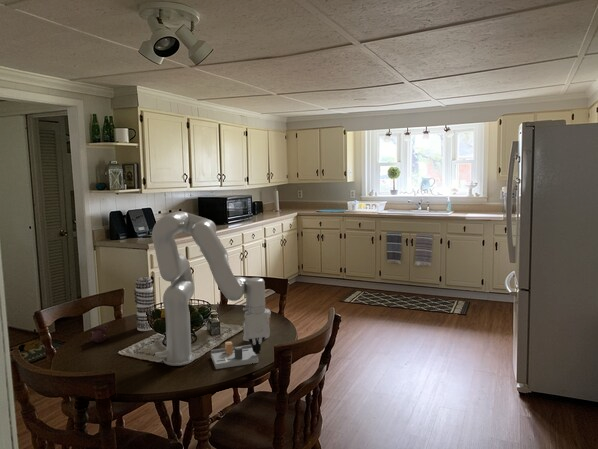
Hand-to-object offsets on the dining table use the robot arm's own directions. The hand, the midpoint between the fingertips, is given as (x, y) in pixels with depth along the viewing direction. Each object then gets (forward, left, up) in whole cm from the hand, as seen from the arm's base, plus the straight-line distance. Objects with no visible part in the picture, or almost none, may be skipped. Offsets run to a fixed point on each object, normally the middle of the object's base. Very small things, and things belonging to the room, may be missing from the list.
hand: (256, 352), depth 185 cm
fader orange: (-10, +7, -1) cm, 12 cm away
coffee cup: (+8, +26, -3) cm, 27 cm away
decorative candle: (-42, +56, -3) cm, 69 cm away
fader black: (-8, 0, -1) cm, 8 cm away
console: (-9, +4, -3) cm, 10 cm away
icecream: (-62, +44, -3) cm, 76 cm away
